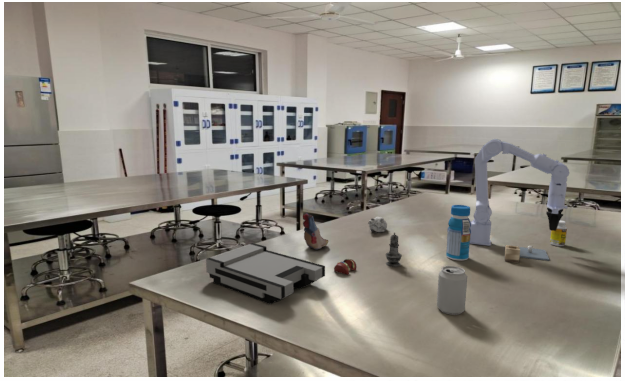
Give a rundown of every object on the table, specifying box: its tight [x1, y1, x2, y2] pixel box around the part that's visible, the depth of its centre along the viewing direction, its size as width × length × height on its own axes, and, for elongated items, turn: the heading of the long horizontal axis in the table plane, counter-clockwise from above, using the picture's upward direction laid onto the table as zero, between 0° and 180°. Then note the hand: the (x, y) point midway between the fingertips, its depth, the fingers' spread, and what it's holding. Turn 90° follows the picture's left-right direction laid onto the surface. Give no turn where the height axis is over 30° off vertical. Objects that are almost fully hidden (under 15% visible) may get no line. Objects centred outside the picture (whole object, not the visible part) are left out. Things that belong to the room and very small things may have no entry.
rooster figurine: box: [302, 212, 329, 251], centre depth 164 cm, size 9×13×15 cm
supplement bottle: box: [549, 219, 568, 247], centre depth 170 cm, size 6×6×10 cm
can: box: [436, 265, 468, 316], centre depth 111 cm, size 8×8×12 cm
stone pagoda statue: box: [385, 232, 403, 268], centre depth 146 cm, size 6×6×12 cm
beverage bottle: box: [445, 204, 471, 262], centre depth 153 cm, size 8×8×20 cm
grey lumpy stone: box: [367, 216, 388, 233], centre depth 188 cm, size 8×9×12 cm
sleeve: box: [504, 244, 520, 264], centre depth 151 cm, size 5×5×5 cm
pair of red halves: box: [333, 258, 357, 276], centre depth 140 cm, size 6×4×8 cm
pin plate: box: [519, 245, 550, 262], centre depth 159 cm, size 12×12×3 cm
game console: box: [205, 242, 326, 305], centre depth 129 cm, size 21×32×8 cm, turn 53°
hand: (552, 228), depth 159 cm, fingers open, 7 cm apart
